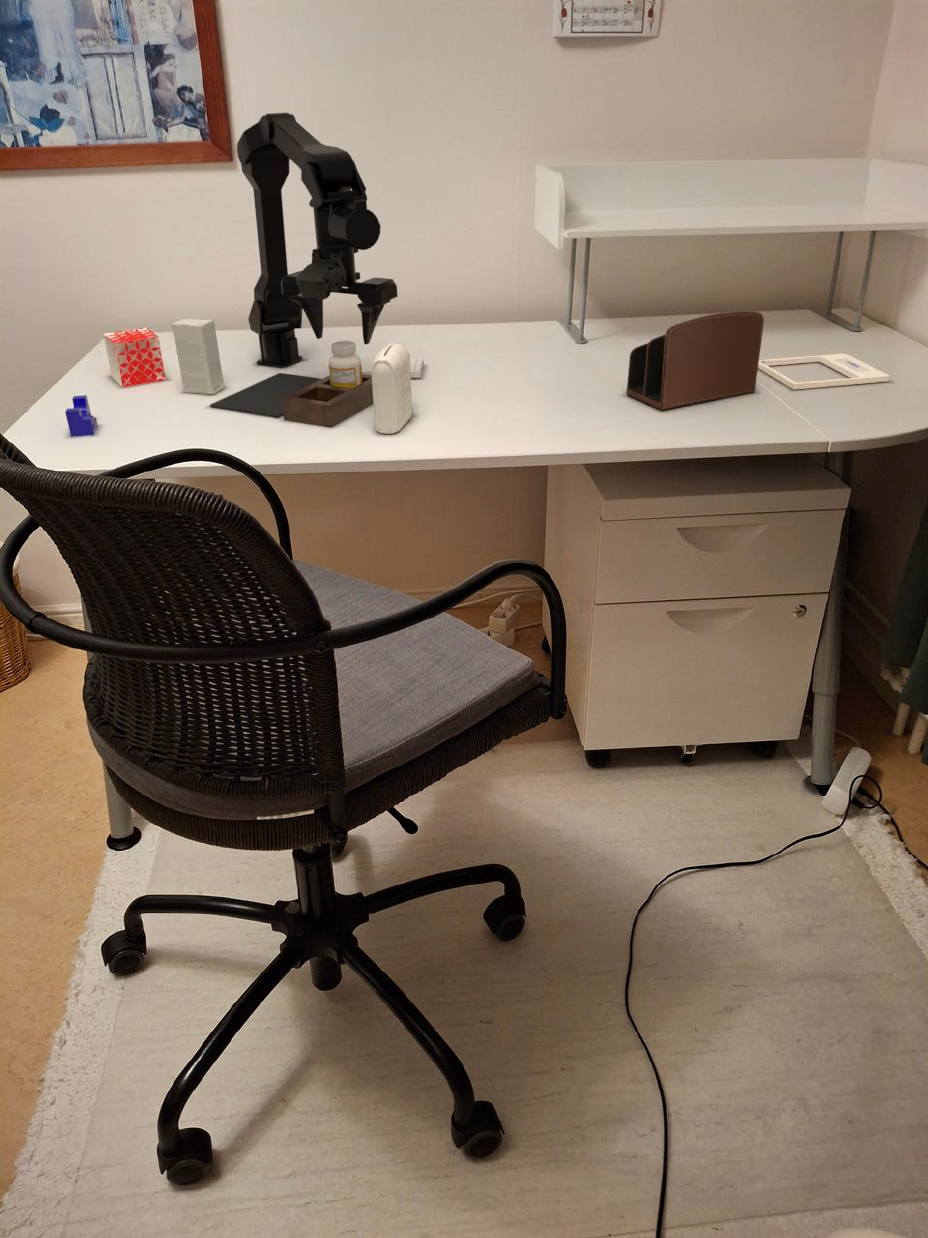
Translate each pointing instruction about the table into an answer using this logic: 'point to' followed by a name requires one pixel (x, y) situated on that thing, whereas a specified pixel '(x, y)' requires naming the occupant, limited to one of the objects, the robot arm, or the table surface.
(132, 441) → the table surface
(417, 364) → the hard drive
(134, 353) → the puzzle cube
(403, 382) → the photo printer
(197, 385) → the cosmetic box
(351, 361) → the supplement bottle
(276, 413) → the desk mat
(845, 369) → the photo frame
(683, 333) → the letter holder
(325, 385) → the bottle holder
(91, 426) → the cable holder
